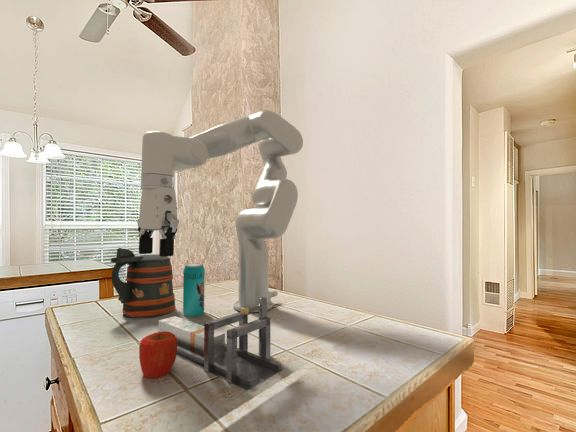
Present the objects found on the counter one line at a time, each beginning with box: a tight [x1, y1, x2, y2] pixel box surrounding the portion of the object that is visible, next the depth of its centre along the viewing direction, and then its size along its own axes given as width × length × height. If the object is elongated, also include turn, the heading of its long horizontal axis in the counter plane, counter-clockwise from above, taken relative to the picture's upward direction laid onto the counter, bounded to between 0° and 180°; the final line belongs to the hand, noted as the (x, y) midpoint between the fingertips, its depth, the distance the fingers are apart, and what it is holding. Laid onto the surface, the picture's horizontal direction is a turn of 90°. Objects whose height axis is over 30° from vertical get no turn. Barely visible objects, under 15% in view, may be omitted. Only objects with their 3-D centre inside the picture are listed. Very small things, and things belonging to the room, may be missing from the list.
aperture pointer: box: [240, 297, 268, 356], centre depth 58 cm, size 6×2×12 cm, turn 142°
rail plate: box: [176, 342, 285, 391], centre depth 60 cm, size 9×32×2 cm, turn 52°
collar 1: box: [203, 311, 249, 373], centre depth 57 cm, size 9×1×9 cm, turn 142°
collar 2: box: [225, 316, 271, 385], centre depth 53 cm, size 9×1×9 cm, turn 142°
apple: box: [138, 331, 177, 380], centre depth 53 cm, size 6×6×8 cm
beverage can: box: [182, 262, 205, 318], centre depth 87 cm, size 6×6×15 cm
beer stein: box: [110, 247, 176, 319], centre depth 91 cm, size 19×15×20 cm
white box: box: [157, 315, 226, 358], centre depth 64 cm, size 18×4×4 cm, turn 52°
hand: (155, 254), depth 73 cm, fingers open, 9 cm apart
